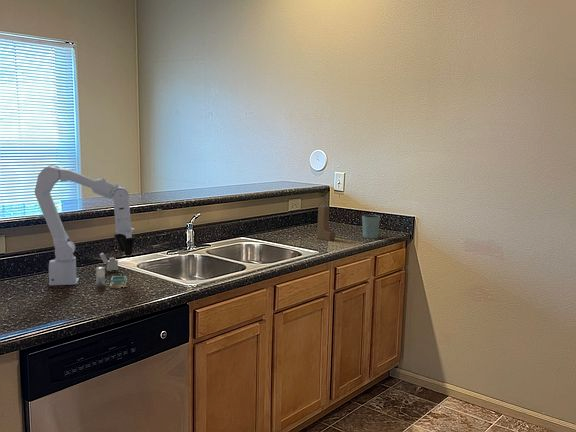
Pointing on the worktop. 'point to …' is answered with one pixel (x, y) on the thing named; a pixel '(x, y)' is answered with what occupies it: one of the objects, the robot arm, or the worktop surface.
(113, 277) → the pin board
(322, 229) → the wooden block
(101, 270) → the pin
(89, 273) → the worktop surface
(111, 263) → the grey lever block
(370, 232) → the drinking glass
